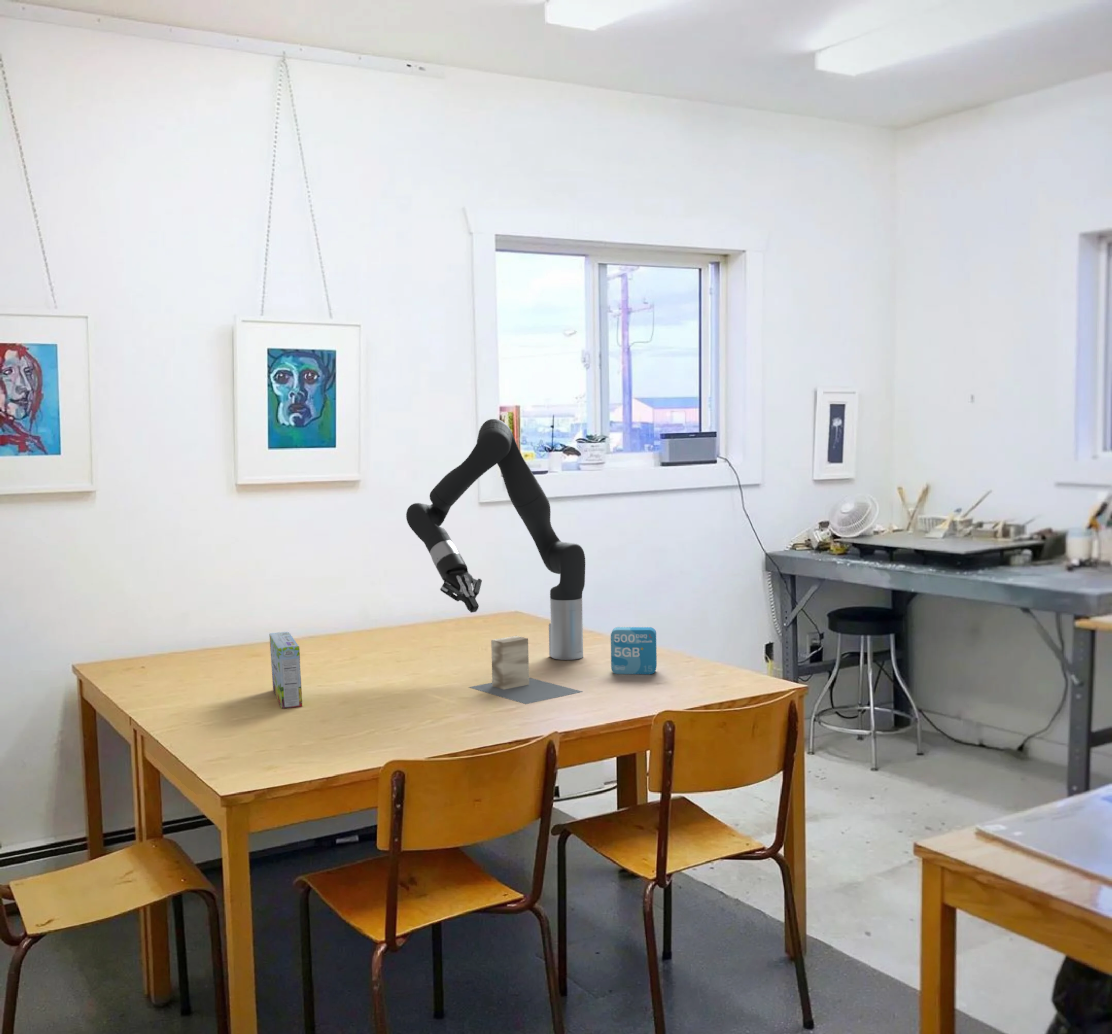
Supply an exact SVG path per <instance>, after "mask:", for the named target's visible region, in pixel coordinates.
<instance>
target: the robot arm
mask: <svg viewBox="0 0 1112 1034" xmlns="http://www.w3.org/2000/svg"><path fill="white" fill-rule="evenodd" d="M495 465H497V466H498V468H499V470H500V472H501V475H502V479H503V482H504V485H505V488H506V492H507V495H508V498H509V500H510V502H511V504H512V505H513V507H514V509H515V510H516V512H517V514H518V516H519V518H520V519H521V520H522V521H523V524H524V525H525V527H526V529H527V531H528V533H529V534H530V536H531V539H533V542H534V544H535V546H536V549H537V551H538V553H539V556H540V558H541V560H542V563H543V564H544V566H545V567H546V569H547V570H549V571H550V573H553V574H558V575H560V576H559V583H558V584H557V585H556V586H553V587H552V588H550V590H549V595H550V596H549V598H550V600H549V603H550V605H549V608H550V623H548V650H549V651H548V653H549V656H548V657H551V658H552V659H554V660H559V661H561V660H562V661H565V660H566V661H571V660H579V659H582V658H583V657H584V639H583V638H584V631H583V630H584V627H583V626H584V623H583V620H584V618H583V591H584V588H585V585H586V584H585V582H586V556H585V555H586V554H585V551H584V549H583V547H582V546H581V545H579V544H578V543H574V542H564V541H561V540H560V539H559V537H558V536H557V533H556V532H555V531H554V528H553V526H552V523H551V505H550V502H549V498H548V497H547V495H546V493H545V492H544V490H543V488H542V487H541V485H540V483H539V482H538V480H537V478H536V477H535V475H534V473H533V471H532V469H531V468H530V466H529V465H528V464H527V462H526V460H525V459H524V457H523V455H522V453H521V451H520V448H519V446H518V443H517V441H516V439H515V437H514V434H513V432H512V430H511V428H510V427H509V425H508V424H507V423H505V421H503V420H500V419H497V418H490V419H487V420H486V421H484V423H482V425H481V426H480V428H479V431H478V436H477V439H476V444H475V446H474V447H473V449H472V451H471V452H470V453H469V455H468V456H467V457H466V458H465V460H464V461H462V463H461V464H460V465H458V466H456V467H455V468H454V469H452V470H451V471H449V472H448V473H447V474H446V475H445V476H443V478H442V479H441V480H440V481H439V482H438V483H437V484H436V485H435V486H434V488H433V489H432V490H431V491H430V493H429V501H430V502H431V503H432V504H425V503H421V502H414V503H412V504H411V505H409V507H408V508H407V510H406V514H405V515H406V516H405V518H406V522H407V524H408V526H409V528H410V529H411V531H412V532H414V534H415V535H416V536H417V538H419V539H420V540H421V541H422V542H423V543H424V546H425V547H426V550H427V551H428V553H429V555H430V557H431V560H432V562H433V565H434V566H435V568H436V570H437V572H438V574H439V575H440V577H441V579H442V581H443V583H442V585H441V587H440V588H439V590H440V592H442V593H444V595H447V596H448V597H449V598H451V599H452V600H454V601H456V602H459V601H461V602H462V603H464V604H465V607H466V609H467V610H468V611H469V612H470V613H477V611H478V610H479V603H478V602H477V600H476V598H477V596H478V595H479V594H480V591H481V586H482V581H483V580H482V579H481V578H477V579H476V578H474V577H473V576H472V574H471V573H470V572H469V570H468V569H469V568H468V566H467V564H466V562H465V560H464V559H463V556H462V555H461V553H460V551H459V548H457V546H456V545H455V544H454V542H453V540H452V539H451V537H450V535H449V533H448V531H447V530H446V529H445V528H444V527H441V525H442V524H443V523H444V521H445V519H446V517H447V516H448V514H449V512H450V510H451V508H452V506H453V505H454V504H455V503H456V502H457V501H458V499H460V498H461V496H463V495H464V493H465V492H466V491H467V490H468V489H469V488H470V487H471V486H472V485H473V484H474V483H475V482H476V481H477V480H479V478H480V477H481V476H483V475H484V474H485V473H486V472H487V471H489V470H490V469H492V468H493V467H494V466H495Z"/></svg>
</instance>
